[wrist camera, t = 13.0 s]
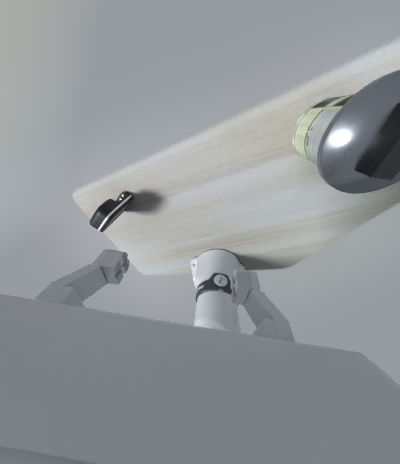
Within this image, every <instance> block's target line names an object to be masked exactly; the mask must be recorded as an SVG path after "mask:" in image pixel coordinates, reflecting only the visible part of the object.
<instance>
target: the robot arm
mask: <svg viewBox="0 0 400 464" xmlns="http://www.w3.org/2000/svg"><path fill="white" fill-rule="evenodd" d="M127 256H128V255H127V253H126V252H121V251H115V250H109V249H105V250H104V251H103V252H102V253H101V254H100V255H99V257H98V258H97V259H96V260H95V261H94V262H93V263H92V265H88V266H85V267H83V268H81V269H79V270H77V271H75V272H73V273H71V274H69V275H66V276H64V277H62V278H60V279H58V280H56V281H54V282H52V283H51V284H50V285H49V286H48V287H47V288H45V290H44V291H42V292H41V293H40V294H39V295H38V296H37V297H36V299H27V298H22V297H16V296H10V295H4V294H0V464H400V385H399V384H397V383H396V382H395V381H394V380H393V379H392V378H391V377H390V376H388V375H387V374H386V373H385V372H384V371H383V370H382V369H380V368H379V367H378V366H377V365H376V364H375V363H373V362H372V361H371V360H369V359H368V358H367V357H366V356H364V355H363V354H360V353H358V352H353V351H347V350H340V349H334V348H327V347H322V346H316V345H308V344H303V343H297V342H295V340H294V337H293V334H292V331H291V328H290V325H289V322H288V320H287V319H286V318H285V317H284V316H283V314H282V313H281V312H280V311H279V310H278V309H277V308H276V307H275V305H274V304H273V303H272V302H271V301H270V300H269V299H268V297H267V296H266V295H265V294H264V293H263V292H261V291H260V286H259V282H258V278H257V274H256V272H251V271H245V267H244V266H243V265H242V264H240V263H239V261H238V259H237V258H236V257H235V256H234V255H233V254H232V253H230V252H228V251H225V250H219V249H215V250H209V251H206V252H204V253H203V254H201V255H200V256H198V257H196V258H193V259H191V269H192V275H193V281H194V286H195V287H196V290H197V291H196V303H197V305H196V312H195V320H194V326H193V325H187V324H181V323H174V322H169V321H162V320H156V319H150V318H144V317H137V316H132V315H125V314H120V313H113V312H107V311H101V310H95V309H89V308H85V306H84V305H83V303H82V301H84V300H85V299H86V298H88V297H89V296H91V295H92V294H94V293H95V292H96V291H98V290H99V289H100V288H102V287H103V286H104V285H106V284H107V283H111V284H119V283H120V281H121V280H122V278H123V274H124V273H126V272H127V270H128V267H129V260H128V259H127ZM238 304H242V305H243V306H244V308H245V309H246V311H247V313H248V314H249V316H250V318H251V319H252V321H253V323H254V324H255V326H256V327H257V329H256V330H255V332H254V333H253V334H252V335H247V334H242V333H241V328H240V322H239V315H238Z"/></svg>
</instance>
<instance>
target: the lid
mask: <svg viewBox="0 0 400 464" xmlns="http://www.w3.org/2000/svg"><path fill="white" fill-rule="evenodd" d="M317 165H318V170H319V173H320V175H321V177H322V178H323V179H324V181H325V182H327V183H328V184H329V185H331V186H332V187H334V188H335V189H337V190H340V191H342V192H347V193H366V192H371V191H375V190H379V189H382V188H385V187H387V186H389V185H392V184H394V183H396V182H398V181H400V70H397V71H394V72H392V73H389V74H387V75H384V76H382V77H380V78H379V79H377V80H375V81H373V82H372V83H370V84H368V85H367V86H365V87H364V88H363V89H361V90H360V91H359V92H357V93H356V94H355V95H354V96H353V97H352V98H351V99H349V100H348V101H347V102H346V103H345V104H344V105H343V107H342V108H341V109H340V110H339V111H338V112H337V114H336V115H335V116H334V117H333V119H332V120H331V122H330V123H329V125H328V127H327V128H326V130H325V132H324V134H323V137H322V139H321V141H320V145H319V148H318V154H317Z"/></svg>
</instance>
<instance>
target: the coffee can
mask: <svg viewBox="0 0 400 464" xmlns="http://www.w3.org/2000/svg"><path fill="white" fill-rule="evenodd" d="M353 96H354V95H349V96H343V97H337V98H327V99H324V100H321V101H319V102H317V103H315V104H314V105H312V106H311V107H310V108H309V109H307V110H306V111H305V113H304V114H303V115H302V116H301V118H300V119H299V121H298V122H297V124H296V126H295V129H294V132H293V137H292V144H293V148H294V150H295V152H296V153H297V154H298V155H299V156H300V157H302V158H304V159H307V160H309V161H310V162H312V163H314V164H316V165H317V154H318V148H319V145H320V141H321V139H322V137H323V134H324V132H325V130H326V128H327V127H328V125H329V123H330V122H331V120H332V119H333V117H334V116H335V115H336V114H337V112H338V111H339V110H340V109H341V108H342V107H343V105H344V104H345V103H346V102H347V101H348V100H349V99H351V98H352V97H353Z"/></svg>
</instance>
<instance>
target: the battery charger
mask: <svg viewBox="0 0 400 464" xmlns="http://www.w3.org/2000/svg"><path fill="white" fill-rule="evenodd" d="M132 200H133V197H132V196H131V195H130V194H128V193H127V192H122V193H121V194H120V196H119V197H118V199H117V200H116V201H114V200H112V199H109V200H106V201H105V202H104V203H103V204H102V205H101V206H99V207H98V209H97V210H96V212H95V213H94V215H93V217H92V218H91V220H90V224H91V226H93V227H94V228H96V229H97V230H98V231H101V232H103V231H105V230H106V229H107V228H108V227H109V226H110V225H111V224H112V223H113V222H114V221H115V220H116V219H117V218H118V217H119V216H120V215H121V214H122V213H123V212H124V210H125V209H126V208H127V206H128V205H129V204H130V202H131V201H132Z"/></svg>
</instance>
